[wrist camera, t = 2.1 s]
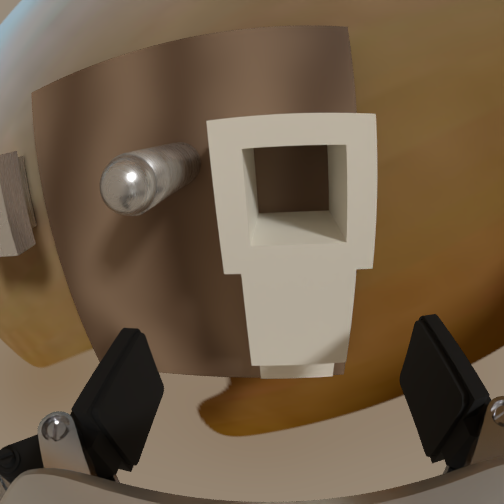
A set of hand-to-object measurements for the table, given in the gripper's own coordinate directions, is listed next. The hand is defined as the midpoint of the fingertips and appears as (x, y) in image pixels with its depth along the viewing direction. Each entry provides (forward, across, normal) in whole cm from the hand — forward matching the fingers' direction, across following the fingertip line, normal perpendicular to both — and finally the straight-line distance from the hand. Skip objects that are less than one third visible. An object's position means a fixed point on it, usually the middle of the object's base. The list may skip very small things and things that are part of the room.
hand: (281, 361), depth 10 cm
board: (+7, +5, -3) cm, 9 cm away
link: (+6, -1, -1) cm, 6 cm away
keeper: (+8, +15, -6) cm, 18 cm away
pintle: (+6, +4, -6) cm, 9 cm away
